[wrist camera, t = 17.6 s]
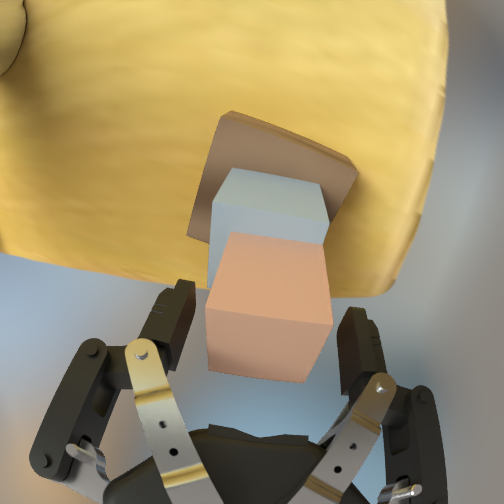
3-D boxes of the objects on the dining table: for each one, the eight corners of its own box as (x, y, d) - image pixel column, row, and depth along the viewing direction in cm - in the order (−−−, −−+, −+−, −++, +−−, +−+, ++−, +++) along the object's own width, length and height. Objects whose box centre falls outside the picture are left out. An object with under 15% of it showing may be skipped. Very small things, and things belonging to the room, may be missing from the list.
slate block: (232, 167, 17) (212, 201, 13) (319, 184, 16) (329, 223, 12) (224, 240, 20) (207, 287, 16) (299, 254, 20) (300, 304, 16)
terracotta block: (230, 231, 13) (204, 307, 9) (322, 244, 13) (333, 324, 9) (227, 297, 16) (208, 370, 12) (303, 307, 16) (303, 383, 12)
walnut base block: (232, 109, 18) (220, 116, 15) (346, 155, 19) (358, 172, 16) (200, 210, 23) (186, 235, 20) (298, 246, 24) (299, 275, 21)
